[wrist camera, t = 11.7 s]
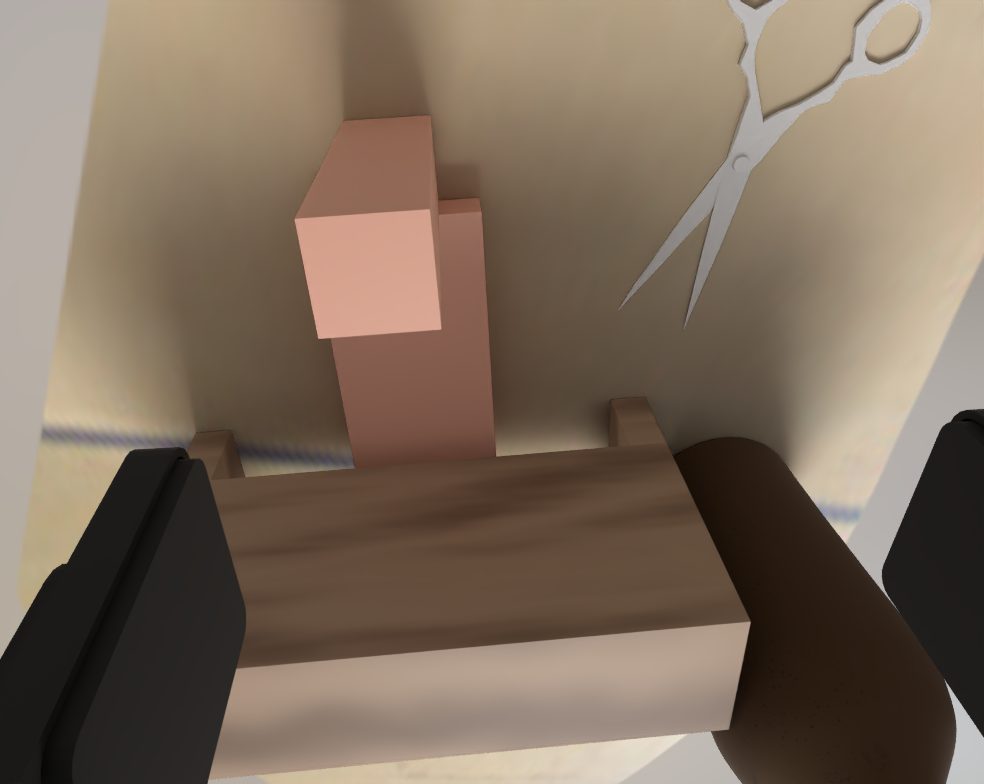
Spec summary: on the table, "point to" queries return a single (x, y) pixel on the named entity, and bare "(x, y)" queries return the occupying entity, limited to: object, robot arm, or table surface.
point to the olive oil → (813, 639)
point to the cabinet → (472, 605)
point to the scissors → (767, 130)
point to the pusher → (399, 296)
